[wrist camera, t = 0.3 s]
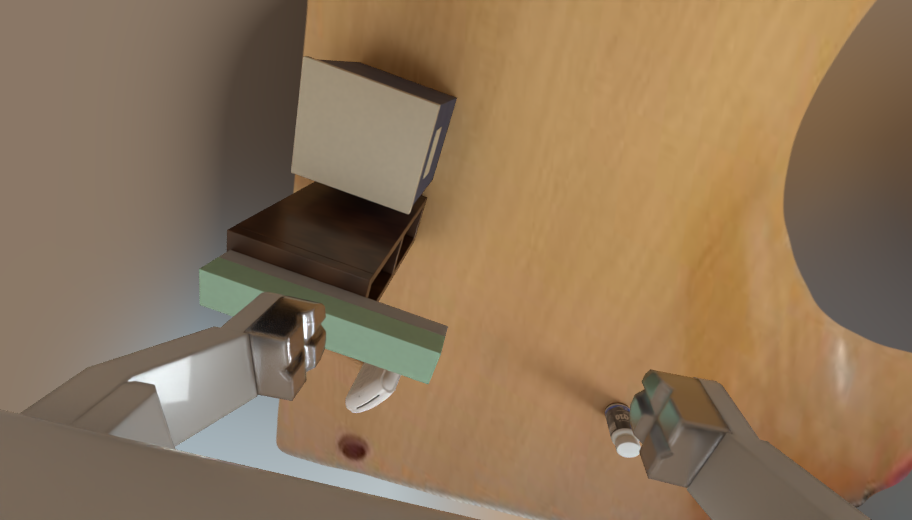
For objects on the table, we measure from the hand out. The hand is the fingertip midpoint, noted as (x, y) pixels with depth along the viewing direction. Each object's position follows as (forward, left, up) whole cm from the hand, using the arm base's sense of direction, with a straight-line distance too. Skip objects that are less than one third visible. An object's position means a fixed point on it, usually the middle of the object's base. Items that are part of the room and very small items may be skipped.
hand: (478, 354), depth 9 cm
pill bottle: (+48, +31, -48) cm, 75 cm away
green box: (+16, -13, -21) cm, 30 cm away
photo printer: (+46, -15, -48) cm, 68 cm away
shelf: (+15, -18, -47) cm, 53 cm away
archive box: (+2, -15, -47) cm, 50 cm away
